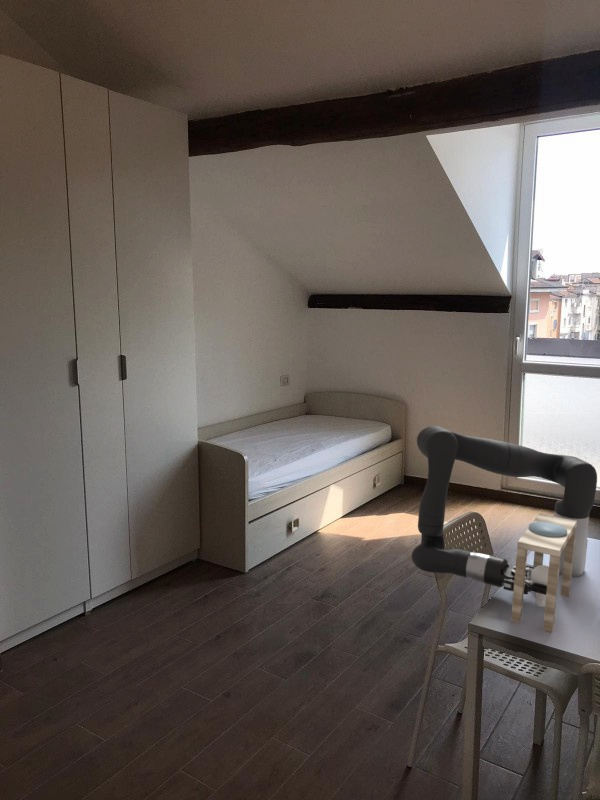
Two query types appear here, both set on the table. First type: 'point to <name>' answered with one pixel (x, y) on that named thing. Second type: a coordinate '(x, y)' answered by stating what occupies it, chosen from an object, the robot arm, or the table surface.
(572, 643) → the table surface
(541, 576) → the lightbulb
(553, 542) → the stool
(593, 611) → the table surface
